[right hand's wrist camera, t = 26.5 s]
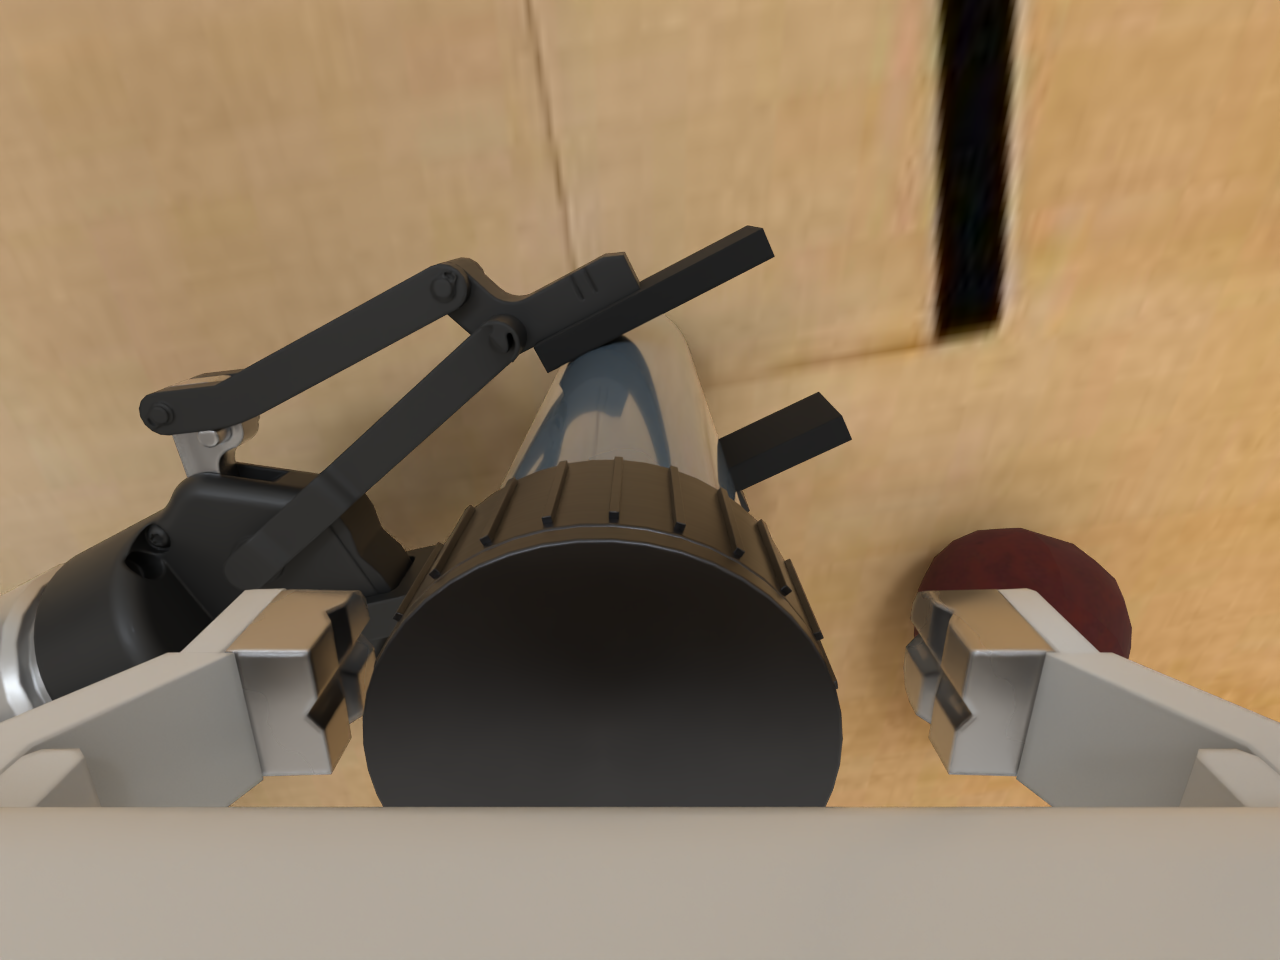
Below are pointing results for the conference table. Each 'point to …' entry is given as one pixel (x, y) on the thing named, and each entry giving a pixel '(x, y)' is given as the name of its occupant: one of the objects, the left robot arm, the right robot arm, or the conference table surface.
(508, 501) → the lid
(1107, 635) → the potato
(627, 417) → the blue-grey bottle
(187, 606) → the left robot arm
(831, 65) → the conference table surface
